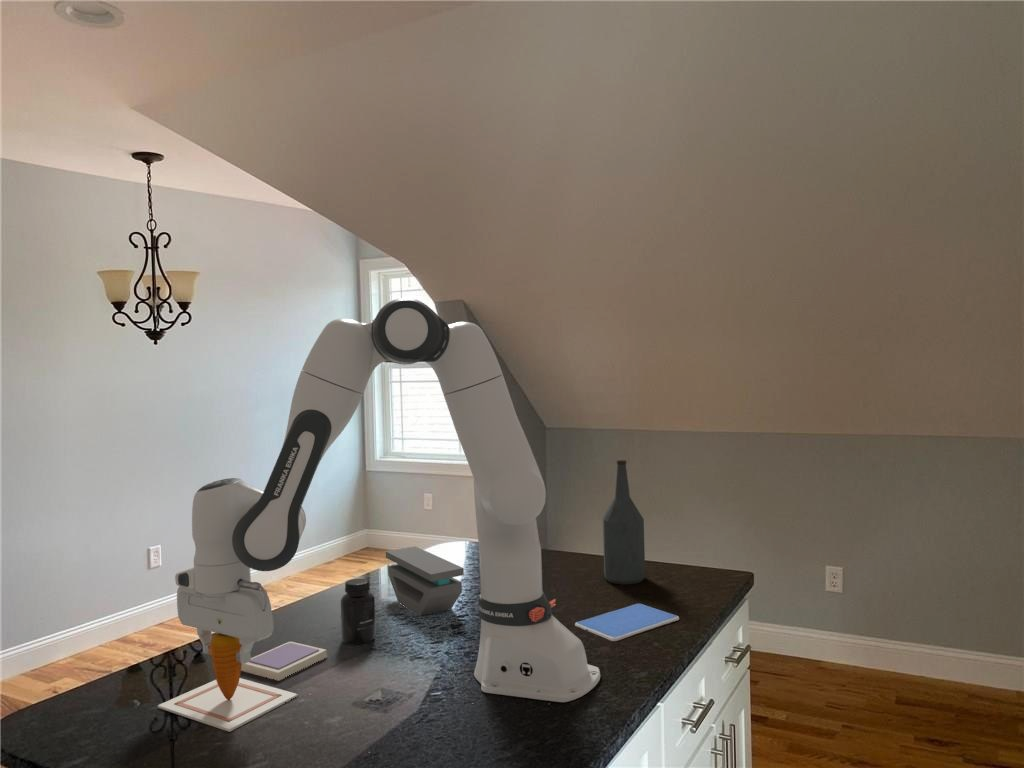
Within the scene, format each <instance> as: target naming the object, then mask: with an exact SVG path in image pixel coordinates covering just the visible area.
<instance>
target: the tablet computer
mask: <svg viewBox="0 0 1024 768" xmlns="http://www.w3.org/2000/svg"><path fill="white" fill-rule="evenodd" d="M679 620H680V617H679V616H678V615H676V614H673V613H671V612H667V611H664V610H661V609H657V608H654V607H652V606H648V605H645V604H642V603H635V604H631V605H629V606H626V607H625V606H624V607H622V608H619V609H615V610H612V611H609V612H605V613H602V614H600V615H596V616H593V617H590V618H585V619H582V620H580V621H576V622H575V623H574V626H575V627H577V628H579V629H581V630H584V631H586V632H588V633H591V634H594V635H596V636H599V637H601V638H603V639H606V640H607V641H611V642H618V641H621V640H624V639H626V638H629V637H632V636H635V635H637V634H641V633H644V632H647V631H650V630H654V629H655V628H658V627H661V626H664V625H668V624H671V623H673V622H677V621H679Z"/></svg>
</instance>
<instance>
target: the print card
mask: <svg viewBox="0 0 1024 768" xmlns="http://www.w3.org/2000/svg"><path fill="white" fill-rule="evenodd" d="M297 696H299V695H298V693H295V692H292V691H288V690H286V689H285V690H284V689H281V688H279V687H274V686H270V685H267V684H263V683H259V682H257V681H256V682H255V681H252V680H249V679H244V678H241V677H240V679H239V682H238V685H237V688H236V690H235V693H234V695H233V697H232V698H231V699H230V700H227V699H226V698H225V697H224V695H223V693H222V692H221V690H220V688H219V686H218V684H217V681H216V679H214V680H211V681H210V682H207V683H206V684H203V685H201V686H198V687H196V688H193V689H191V690H189V691H188V692H184V693H182V694H179V695H178V696H176V697H174V698H171V699H169V700H166V701H165V702H162V703H159V704H158V705H157V708H158V709H160V710H163V711H167V712H169V713H173V714H175V715H178V716H181V717H183V718H188V719H191V720H194V721H195V722H196V721H197V722H199V723H202V724H205V725H208V726H211V727H214V728H218V729H219V730H223V731H226V732H232V731H234V730H236V729H238V728H240V727H242V726H244V725H246V724H247V723H249V722H251V721H254V720H255V719H257V718H259V717H261V716H263V715H265V714H267V713H268V712H270V711H273V710H275V709H276V708H278V707H280V706H282V705H284V704H286V703H288V702H290V701H292V700H294V699H295V697H296V698H297ZM293 698H294V699H293ZM291 699H292V700H291ZM285 702H286V703H285Z"/></svg>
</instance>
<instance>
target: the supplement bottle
mask: <svg viewBox="0 0 1024 768" xmlns="http://www.w3.org/2000/svg"><path fill="white" fill-rule="evenodd" d="M344 585H345V586H344V588H345V589H344V592H345V594H344V595H342V597H341V599H340V628H341V630H340V632H341V633H340V634H341V641H342V642H343V644H345V645H349V644H350V645H351V646H359V645H360V644H361V645H365V643H366V644H368V642H369V643H371V642H372V640H373V639H374V640H375V638H376V608H375V607H376V605H375V603H376V602H375V596H374V594H372V592H371V591H370V581H369V579H367V578H352V579H347V580H346V581H345V583H344ZM374 640H373V641H374ZM361 645H360V646H361Z"/></svg>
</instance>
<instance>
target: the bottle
mask: <svg viewBox="0 0 1024 768" xmlns="http://www.w3.org/2000/svg"><path fill="white" fill-rule="evenodd" d="M627 471H628V470H627V460H626V459H618V460H616V479H615V493H614V498H613V499H612V501H611V502H610V505H609V506H608V508H607V510H606V511H605V513H604V515H603V516H602V532H603V533H602V537H603V543H602V544H603V574H604V577H605V579H606V581H607V582H608V583H611V584H616V585H617V584H618V585H631V584H633V585H634V584H640V582H642V581H644V580H645V578H646V563H645V562H646V560H645V559H646V558H645V557H646V555H645V522H644V517H643V515H642V514H641V513H640V511H639V510H638V508H637V506H636V504H635V503H634V501H633V500H632V498H631V495H630V487H629V480H628V479H629V477H628V472H627Z"/></svg>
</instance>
